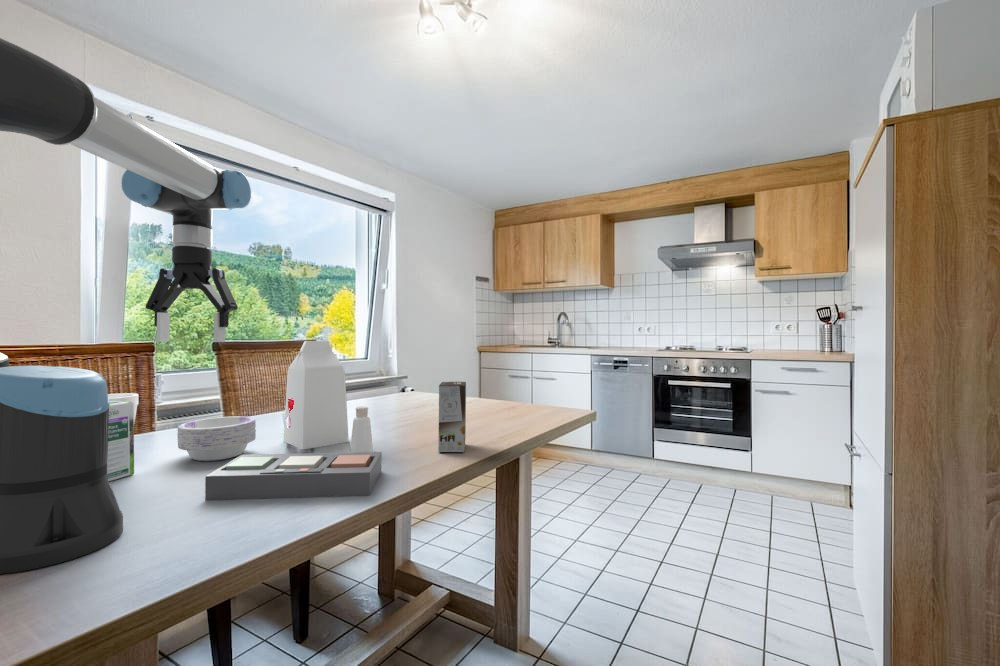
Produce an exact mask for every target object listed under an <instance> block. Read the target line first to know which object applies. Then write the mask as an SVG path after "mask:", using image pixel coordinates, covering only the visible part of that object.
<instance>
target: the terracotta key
mask: <svg viewBox="0 0 1000 666" xmlns="http://www.w3.org/2000/svg"><path fill="white" fill-rule="evenodd" d="M370 464H371V455H339V456H338V457H337V458H336V459H335V460H334V462H333V463H332V464H331V468H354V467H369V466H370Z"/></svg>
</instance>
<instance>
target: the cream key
mask: <svg viewBox="0 0 1000 666" xmlns="http://www.w3.org/2000/svg"><path fill="white" fill-rule="evenodd" d="M322 463H323V456H290V457H289V458H288V459H287V460H285V461H284V462H283V463H281V464H280V465H279V469H301V468H318V467H319V466H320V465H321V464H322Z"/></svg>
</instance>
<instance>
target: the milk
mask: <svg viewBox="0 0 1000 666" xmlns="http://www.w3.org/2000/svg"><path fill="white" fill-rule="evenodd" d="M286 376H287V377H286V389H285V390H286V394H285V407H284V408H285V409H284V421H285V420H286V419H287V417H288V415H290V418H291V427H290V428H289V429H288V428H287V426H286V423H285V422H284V426H283V427H284V429H283V442H284V443H286V444H288V445H291V446H293V447H296V448H297V449H300V450H308V449H315V448H319V447H320V448H321V447H324V446H331V445H338V444H341V443H347V442H348V441H349V440H350V439H349V421H348V407H347V406H348V405H347V401H348V400H347V387H346V385H347V384H346V371H345V368H344V366H343V364H342V363H341V362H340V359H339V358H338V357H337V356H336V354H335V352H333V349H332V346H331V343H330V341H329V340H304V342H303V344H302V346H301V348H300V349H299V352H298V353H297V355H296V356H295V358H294V359H293V360H292V362H291V363H290V365H289V367H288V368H287V374H286ZM290 398H293V399H294V405H293V409H292V410H291V411H290V413H288V412H289V410H290V408H289V410H288V399H290ZM348 443H349V442H348Z"/></svg>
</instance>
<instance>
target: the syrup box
mask: <svg viewBox="0 0 1000 666" xmlns="http://www.w3.org/2000/svg"><path fill="white" fill-rule="evenodd" d="M109 404H110V405H109V424H108V459H107V478H108V481H109V482H112V481H115V480H119V479H122V478H125V477H128V476H132V475H134V474H135V423H134V403H133V402H130V401H110V402H109Z"/></svg>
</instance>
